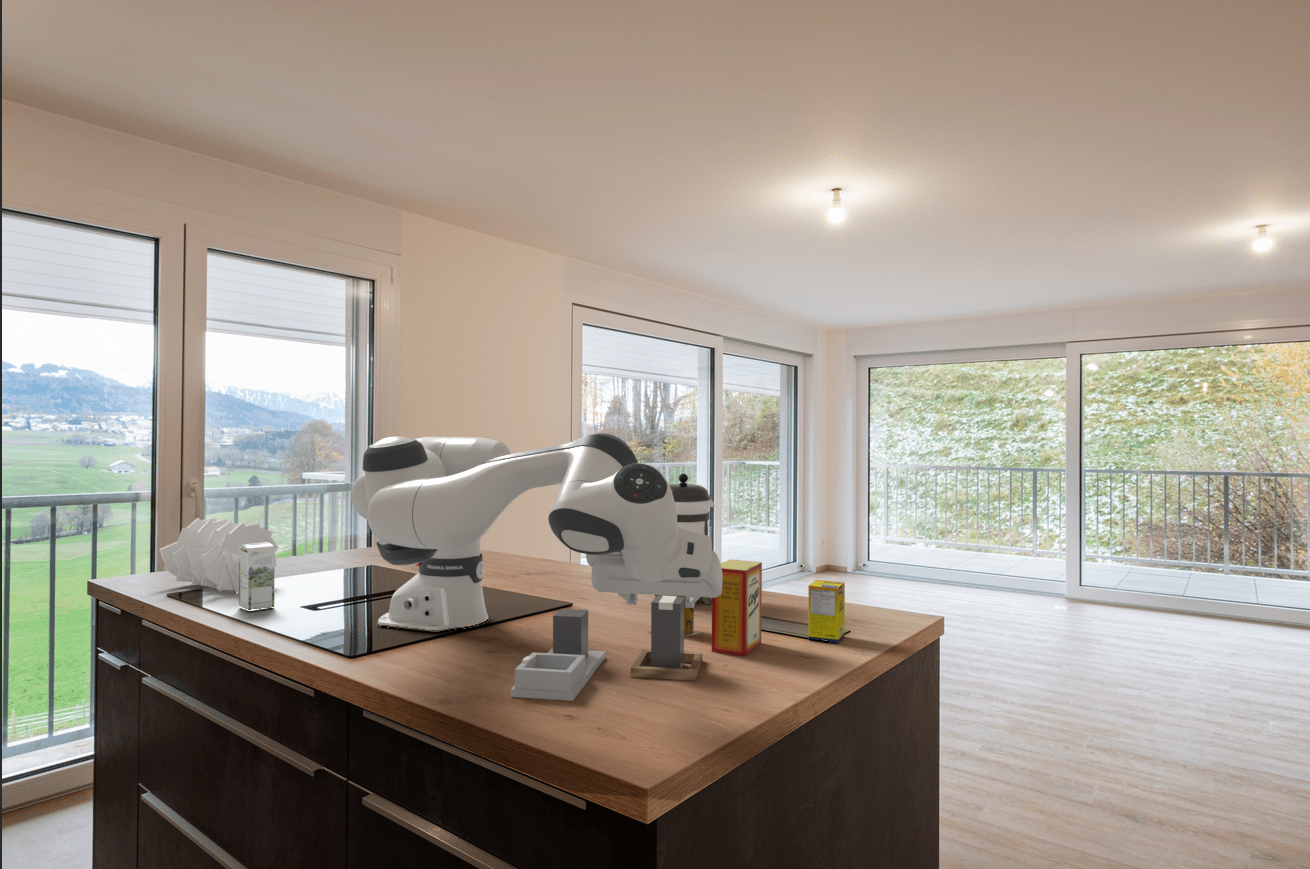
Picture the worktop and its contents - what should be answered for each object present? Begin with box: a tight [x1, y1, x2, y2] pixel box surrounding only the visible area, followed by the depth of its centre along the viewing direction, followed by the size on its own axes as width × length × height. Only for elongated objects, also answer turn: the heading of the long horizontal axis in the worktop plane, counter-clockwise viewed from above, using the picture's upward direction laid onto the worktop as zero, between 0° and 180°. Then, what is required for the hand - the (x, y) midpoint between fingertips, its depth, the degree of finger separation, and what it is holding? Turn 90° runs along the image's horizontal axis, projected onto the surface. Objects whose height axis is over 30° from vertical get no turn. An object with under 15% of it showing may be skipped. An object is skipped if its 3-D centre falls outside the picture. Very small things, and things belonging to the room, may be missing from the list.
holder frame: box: [630, 648, 703, 682], centre depth 139 cm, size 11×11×2 cm
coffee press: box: [654, 473, 716, 605], centre depth 189 cm, size 17×16×30 cm
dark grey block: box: [650, 595, 685, 669], centre depth 139 cm, size 5×5×12 cm
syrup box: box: [238, 542, 276, 610], centre depth 181 cm, size 6×6×14 cm
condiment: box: [647, 595, 702, 637], centre depth 162 cm, size 7×8×12 cm
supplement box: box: [807, 579, 846, 644], centre depth 158 cm, size 6×6×11 cm
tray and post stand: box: [510, 608, 606, 702], centre depth 135 cm, size 22×10×9 cm, turn 171°
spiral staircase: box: [158, 516, 280, 593], centre depth 201 cm, size 18×18×25 cm
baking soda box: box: [711, 559, 763, 657], centre depth 152 cm, size 10×6×16 cm
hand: (661, 602), depth 129 cm, fingers open, 8 cm apart
